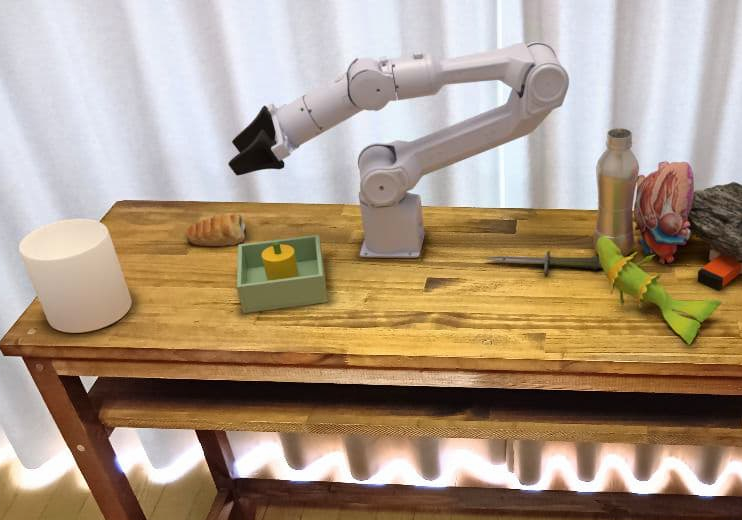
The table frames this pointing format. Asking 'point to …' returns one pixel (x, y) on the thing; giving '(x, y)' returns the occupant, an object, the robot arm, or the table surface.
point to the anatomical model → (664, 208)
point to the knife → (552, 261)
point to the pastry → (217, 231)
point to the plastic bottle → (616, 191)
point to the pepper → (280, 262)
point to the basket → (282, 291)
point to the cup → (76, 275)
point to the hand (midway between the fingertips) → (234, 157)
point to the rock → (719, 218)
